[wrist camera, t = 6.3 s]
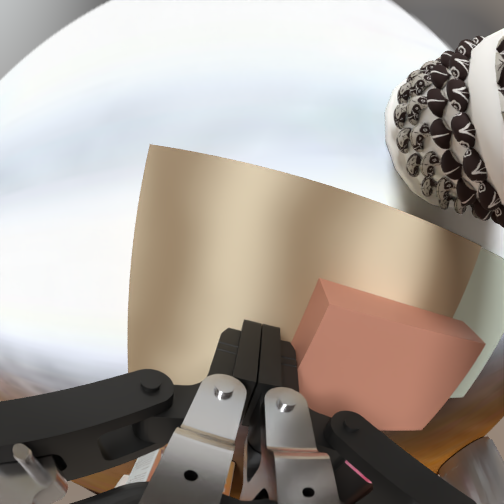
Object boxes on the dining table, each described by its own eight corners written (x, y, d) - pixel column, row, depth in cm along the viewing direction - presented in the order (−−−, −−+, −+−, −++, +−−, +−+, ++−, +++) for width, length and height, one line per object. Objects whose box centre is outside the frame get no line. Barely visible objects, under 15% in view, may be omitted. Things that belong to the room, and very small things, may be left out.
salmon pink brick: (463, 321, 11) (485, 344, 9) (409, 402, 13) (421, 429, 10) (318, 277, 11) (329, 303, 9) (271, 382, 13) (270, 417, 10)
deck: (442, 229, 14) (481, 246, 10) (364, 393, 17) (377, 431, 14) (181, 151, 14) (150, 144, 10) (152, 346, 18) (128, 382, 14)
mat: (527, 271, 14) (529, 272, 13) (461, 395, 17) (463, 397, 17) (442, 229, 14) (445, 230, 13) (364, 393, 17) (365, 396, 17)
